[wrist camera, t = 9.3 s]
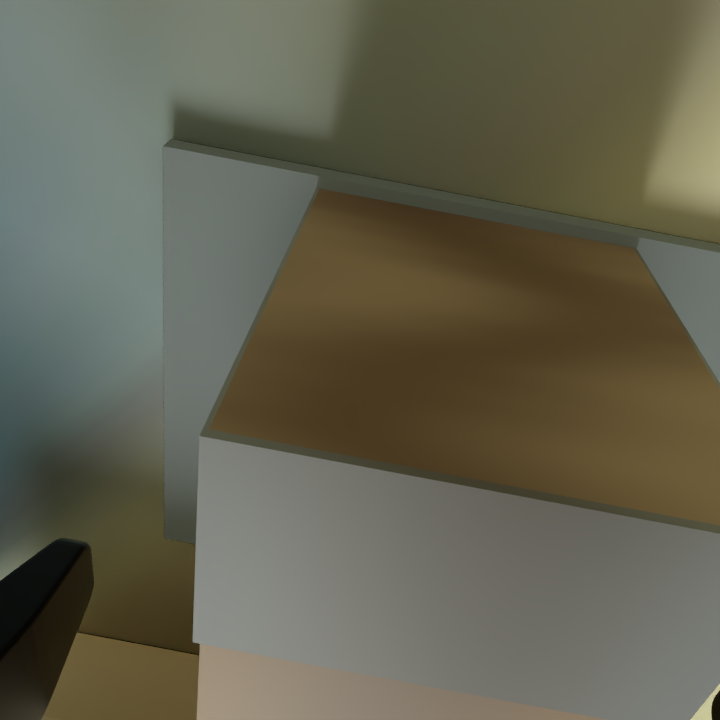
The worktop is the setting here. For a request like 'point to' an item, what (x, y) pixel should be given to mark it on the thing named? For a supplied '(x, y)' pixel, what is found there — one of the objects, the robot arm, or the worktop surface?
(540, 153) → the worktop surface
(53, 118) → the worktop surface
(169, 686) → the beige open box
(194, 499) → the mat
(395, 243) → the gray and brown box
